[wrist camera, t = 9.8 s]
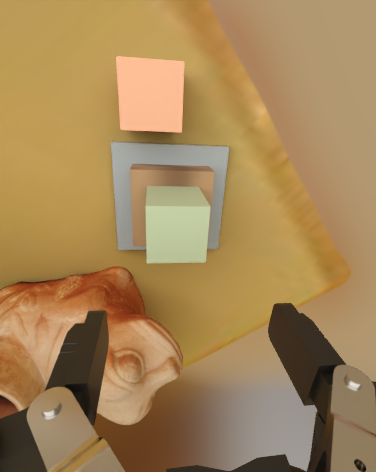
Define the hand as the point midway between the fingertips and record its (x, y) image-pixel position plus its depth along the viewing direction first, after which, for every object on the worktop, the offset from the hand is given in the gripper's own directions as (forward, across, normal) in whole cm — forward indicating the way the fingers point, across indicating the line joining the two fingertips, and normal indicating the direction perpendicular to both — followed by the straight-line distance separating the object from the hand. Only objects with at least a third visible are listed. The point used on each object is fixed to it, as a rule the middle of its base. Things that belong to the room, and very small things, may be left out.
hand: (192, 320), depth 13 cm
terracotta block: (+20, +2, -10) cm, 22 cm away
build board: (+20, 0, 0) cm, 20 cm away
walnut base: (+19, 0, 0) cm, 19 cm away
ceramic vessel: (+20, +12, +16) cm, 28 cm away
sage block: (+16, 0, 0) cm, 16 cm away
